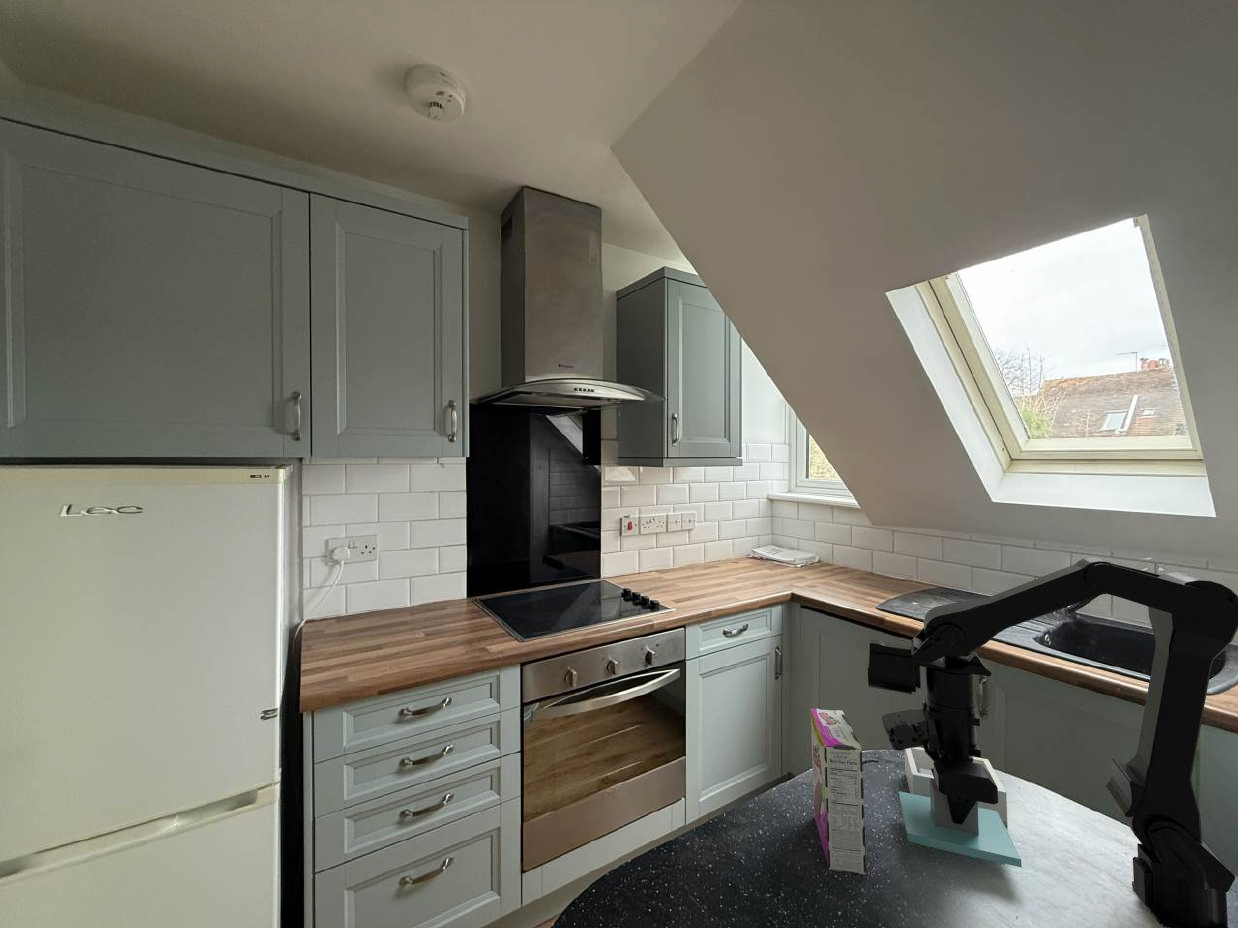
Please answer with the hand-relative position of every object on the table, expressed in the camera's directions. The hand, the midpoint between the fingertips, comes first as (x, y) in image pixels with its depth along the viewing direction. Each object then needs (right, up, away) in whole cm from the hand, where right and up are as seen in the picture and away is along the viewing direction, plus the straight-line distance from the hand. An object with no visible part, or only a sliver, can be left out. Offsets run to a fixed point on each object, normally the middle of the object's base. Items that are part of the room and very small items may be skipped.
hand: (954, 814), depth 70 cm
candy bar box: (-16, -5, +1) cm, 17 cm away
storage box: (+7, -5, +11) cm, 13 cm away
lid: (0, -3, 0) cm, 3 cm away
